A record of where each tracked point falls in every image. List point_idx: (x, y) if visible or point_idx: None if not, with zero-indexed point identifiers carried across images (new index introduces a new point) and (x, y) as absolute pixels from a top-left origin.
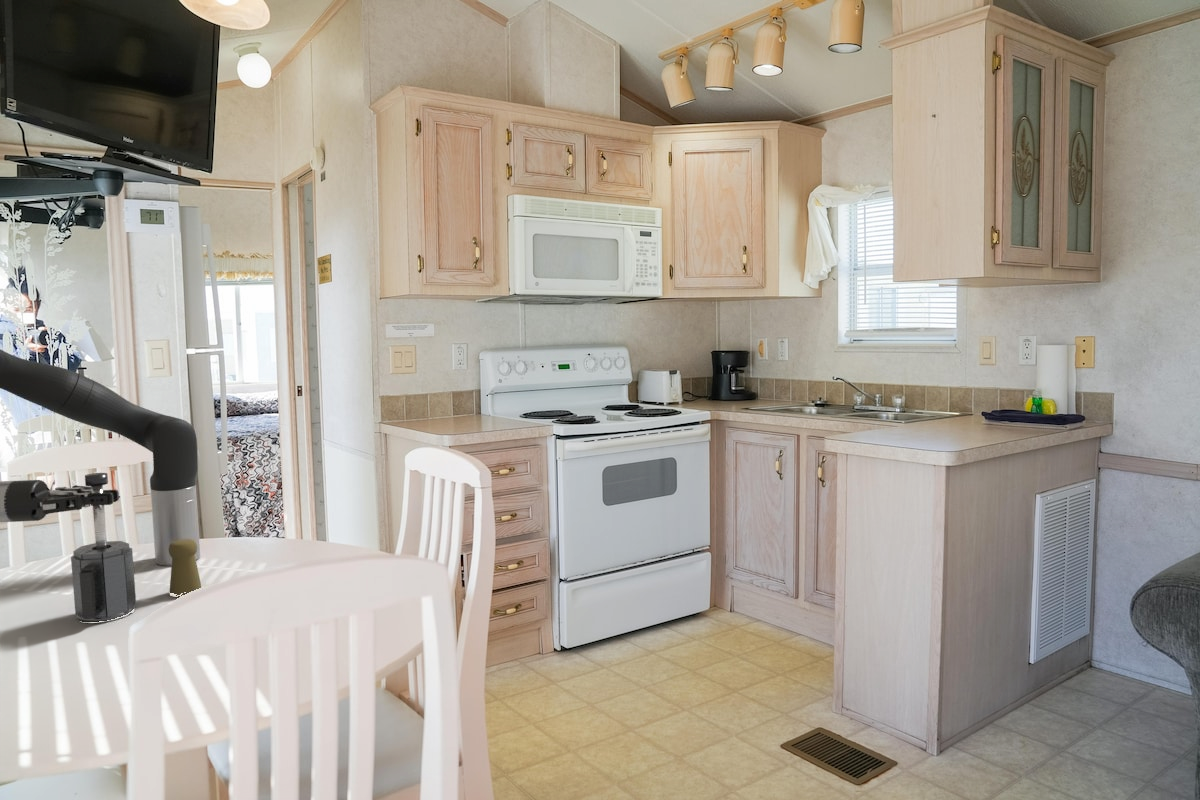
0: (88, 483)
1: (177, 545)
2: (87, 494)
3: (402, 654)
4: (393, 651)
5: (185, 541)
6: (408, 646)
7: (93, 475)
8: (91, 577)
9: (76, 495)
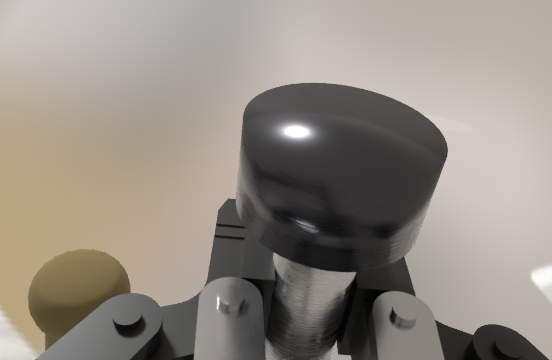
0: (423, 217)
1: (117, 285)
2: (416, 299)
3: (463, 123)
4: (456, 127)
5: (98, 262)
6: (441, 118)
7: (382, 135)
8: None
9: (521, 347)
